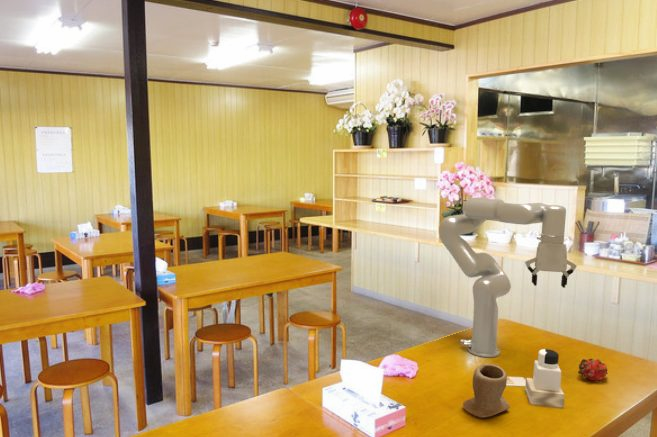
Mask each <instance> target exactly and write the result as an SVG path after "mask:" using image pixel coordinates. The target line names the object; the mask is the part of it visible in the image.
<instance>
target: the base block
mask: <svg viewBox="0 0 657 437" xmlns="http://www.w3.org/2000/svg"><path fill="white" fill-rule="evenodd" d="M525 380H526V387H525V386H524V387H525V390H524V391H525V394H526V397H527V399H528V402H529V404H530V405H531V406H539V407H547V408H548V407H550V408H556V409H557V408H558V409H565V408H564V407H565V393H564V391H563V389H562V387H561V386H560V391H559V392H557V391H549V390H541V389H536V386H535V383H534V380H533V378H532V377H526V378H525Z"/></svg>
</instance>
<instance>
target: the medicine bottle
mask: <svg viewBox="0 0 657 437" xmlns="http://www.w3.org/2000/svg"><path fill="white" fill-rule="evenodd" d="M559 356H560V355H559V353H558V352H557V351H555V350H553V349H548V348H543V349H540V350H539V351H538V356H537V357H538V359H537V360H536V359H535V360H534V366H533V376H532V377H533V380H534V383H535V386H536V389H541V390H549V391H557V392H559V391H560V387H561V380H562V370H561V368H560V366H559Z"/></svg>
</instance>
